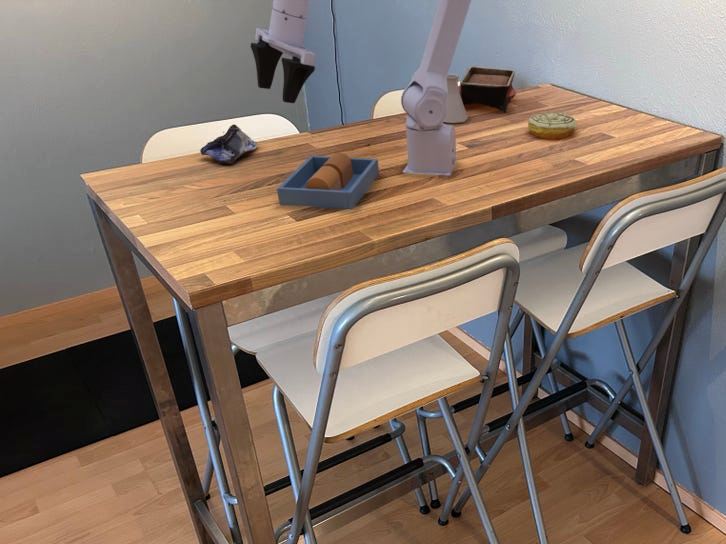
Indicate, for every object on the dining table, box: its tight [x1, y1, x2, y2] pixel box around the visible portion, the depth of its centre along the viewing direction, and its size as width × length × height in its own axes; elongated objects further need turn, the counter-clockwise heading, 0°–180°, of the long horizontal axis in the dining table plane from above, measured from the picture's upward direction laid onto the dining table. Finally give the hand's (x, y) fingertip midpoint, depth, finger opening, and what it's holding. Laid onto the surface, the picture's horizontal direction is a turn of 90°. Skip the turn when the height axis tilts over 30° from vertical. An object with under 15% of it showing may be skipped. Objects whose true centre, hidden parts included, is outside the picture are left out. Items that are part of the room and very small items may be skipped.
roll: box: [322, 152, 353, 188], centre depth 140 cm, size 4×6×5 cm
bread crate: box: [276, 155, 380, 210], centre depth 137 cm, size 14×17×4 cm
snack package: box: [199, 124, 259, 165], centre depth 153 cm, size 12×6×12 cm
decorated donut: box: [527, 112, 578, 140], centre depth 164 cm, size 10×11×4 cm
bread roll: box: [306, 166, 342, 191], centre depth 134 cm, size 4×6×5 cm
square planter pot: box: [458, 66, 517, 113], centre depth 182 cm, size 14×18×10 cm
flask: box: [443, 73, 469, 124], centre depth 172 cm, size 7×7×10 cm
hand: (276, 95), depth 130 cm, fingers open, 7 cm apart
